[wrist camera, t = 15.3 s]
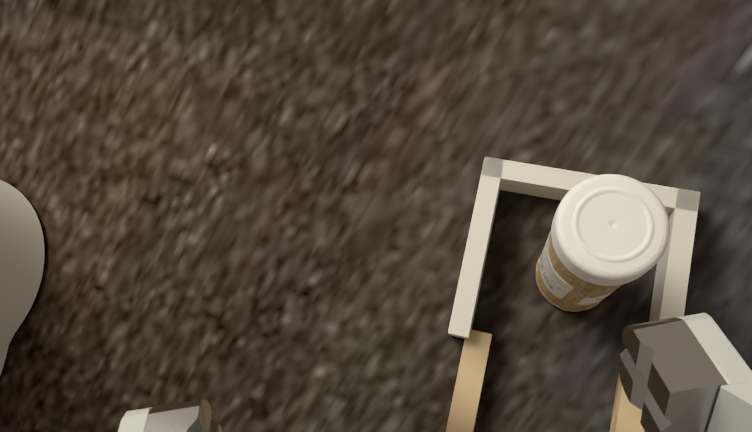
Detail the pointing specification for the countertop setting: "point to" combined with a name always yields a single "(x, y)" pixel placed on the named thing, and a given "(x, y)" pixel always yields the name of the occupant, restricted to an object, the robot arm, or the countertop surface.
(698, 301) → the countertop surface
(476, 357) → the oak slot
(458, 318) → the white u-shaped bracket
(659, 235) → the sprinkles bottle
